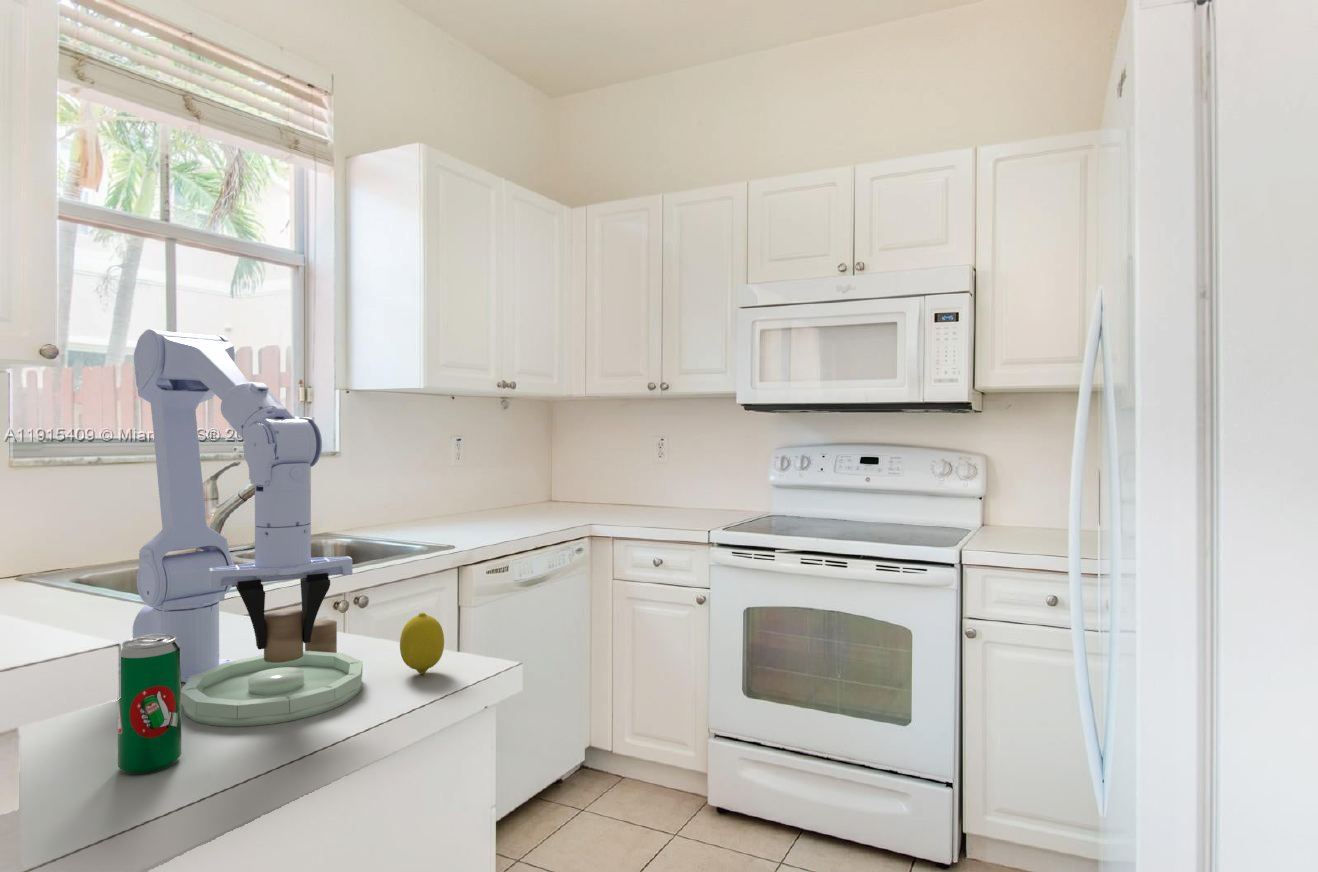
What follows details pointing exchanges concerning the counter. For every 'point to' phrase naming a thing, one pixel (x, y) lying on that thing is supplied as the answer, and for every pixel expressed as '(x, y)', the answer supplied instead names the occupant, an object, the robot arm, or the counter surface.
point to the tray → (271, 689)
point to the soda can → (149, 704)
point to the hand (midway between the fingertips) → (283, 643)
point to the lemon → (422, 642)
